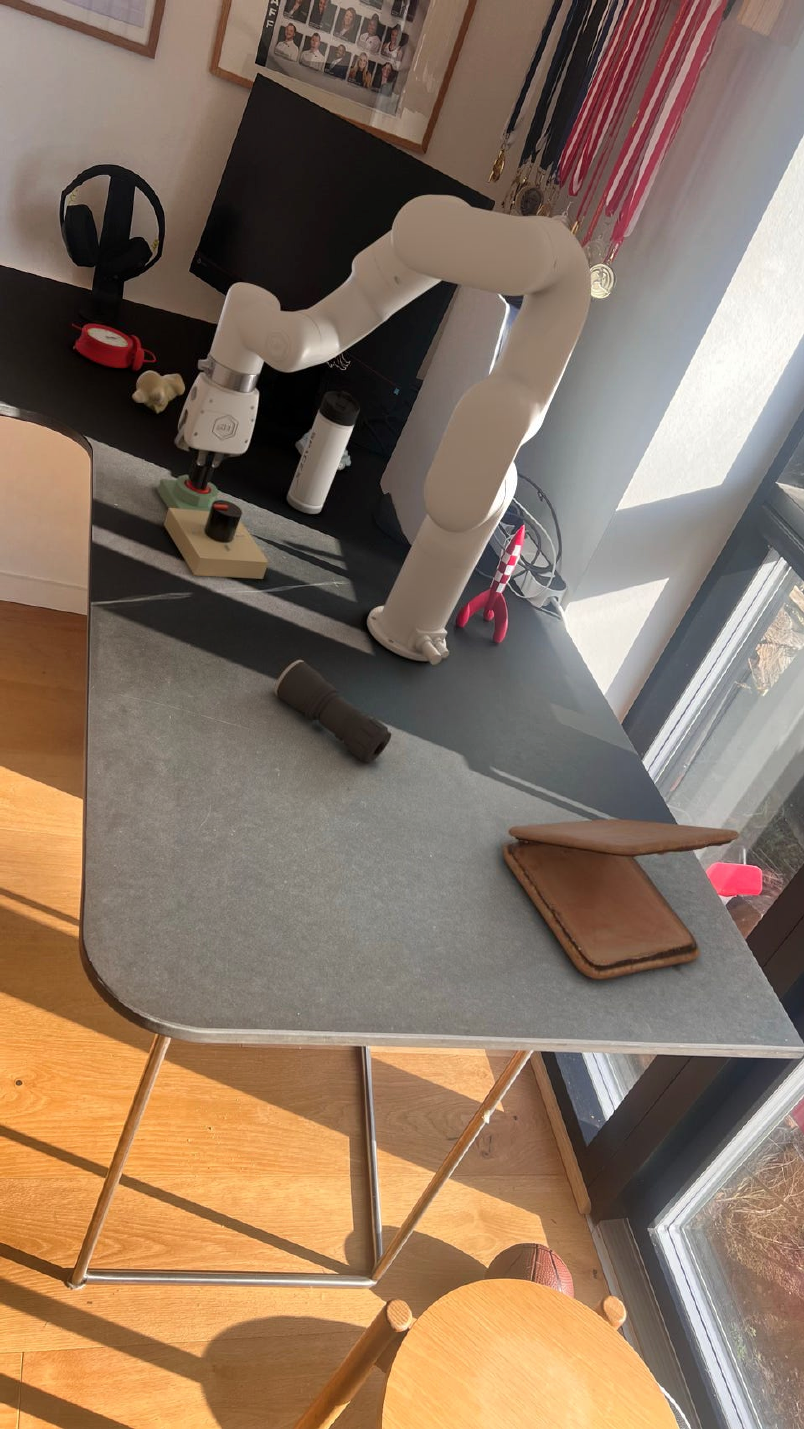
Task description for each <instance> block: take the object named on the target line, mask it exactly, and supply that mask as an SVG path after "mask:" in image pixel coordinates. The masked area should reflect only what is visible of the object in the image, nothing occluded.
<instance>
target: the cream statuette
mask: <svg viewBox="0 0 804 1429" xmlns="http://www.w3.org/2000/svg"><path fill="white" fill-rule="evenodd" d="M135 387H136V391H134V393H133V394H132V396H131V398H132V400H133V401H134V402H135V403H138V404H144V405H145V406H146V407H147V408H148V409H150V410H152V411H153V412H154V413H156V414H158V415H159V413H161V412H163V411H164V410H165V409H166V408H167V406H168V404H169V402H171V401H172V400H173V399H175V398H176V397H178V396H182V395H183V394H184V393H185V390H186V387H185V383H184V381H183V378H182V376H181V374H179V373H172V374H164V375H163V376H162V375H160V373H158V372H157V371H154V370H147V371H144V372H143V373H141V374H140V376H139V377H138V378H137V380H136V384H135Z"/></svg>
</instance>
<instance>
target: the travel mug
mask: <svg viewBox="0 0 804 1429" xmlns="http://www.w3.org/2000/svg"><path fill="white" fill-rule="evenodd" d="M360 411H361V406H360V404H359V402H358V401H357V400H356V399H355V398H353V397H352V394H350V393H348V392H346V391H344V390H341V392H340V391H336V390H329V391H327V392H325V394H324V395H323V398H322V401H321V403H320V406H319V409H318V410H317V413H316V416H315V418H314V421H313V424H312V427H311V428H310V429H311V432H310V435H309V438H308V440H307V443H306V446H305V449H304V451H303V454H302V455H301V456H300V459H299V463H298V465H297V468H296V471H295V473H294V476H293V479H292V481H291V484H290V487H289V490H288V492H287V495H286V501H287V503H288V504H289V505H290V506H291V507H292V508H294V509H295V510H297V511H299V512H301V513H304V514H308V515H316V514H317V515H318V514H319V513H320V512H322V509H323V507H324V504H325V502H326V498H327V496H328V493H329V491H330V489H331V485H332V484H333V481H334V478H335V477H336V476H335V475H336V474H337V473H336V472H337V470H338V469H337V468H338V466H339V463H340V460H341V458H342V455H343V453H344V450H345V448H346V449H347V445H348V443H349V440H350V437H351V435H352V432H353V429H354V427H355V424H356V420H357V418H358V416H359V414H360Z"/></svg>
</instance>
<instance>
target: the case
mask: <svg viewBox="0 0 804 1429" xmlns="http://www.w3.org/2000/svg"><path fill="white" fill-rule="evenodd" d="M508 835H509V836H510V837H513V838H515V839H516V840H510V841H508V842H506V843H505V844H504V845H503V847H502V856H503V859H504V860H505V862H506V863H507V865H508V866H509V868H510V870H511V871H512V872H513V874H514V876H515V877H516V879H517V880H518V882H519V883H520V884H521V885H522V887H523V889H524V890H525V892H526V893H527V895H528V896H529V898H530V899H531V901H532V902H533V904H534V905H535V907H536V909H537V910H538V911H539V913H540V914H541V916H542V917H543V919H544V920H545V922H546V923H547V925H548V926H549V928H550V929H551V931H552V932H553V934H554V935H555V937H556V938H557V940H558V942H559V943H560V945H561V947H562V948H563V949H564V951H565V952H566V954H567V956H568V957H569V959H570V960H571V962H572V963H573V965H574V966H575V968H576V969H577V970H578V971H579V972H581V973H582V974H583V975H584V976H586V977H588V978H590V979H594V980H608V979H613V978H617V977H622V976H626V975H630V974H634V973H638V972H639V973H640V972H643V971H648V970H654V969H659V968H660V969H661V968H664V967H670V966H675V965H681V964H686V963H692V962H693V961H695V960H696V959H697V958H698V957H699V956H700V948H699V944H698V942H697V940H696V939H695V937H694V936H693V934H692V933H691V931H690V930H689V929H688V928H687V926H686V925H685V924H684V923H683V921H682V920H681V918H680V917H679V916H678V914H677V913H676V912H675V910H674V909H673V908H672V907H671V905H670V904H669V902H668V901H667V900H666V898H665V897H664V895H662V893H661V892H660V890H659V888H658V887H657V886H656V885H655V883H654V882H653V880H652V879H651V878H650V876H649V875H648V874H647V872H646V871H645V870H644V869H643V868H642V866H641V864H640V863H639V862H638V860H637V859H636V857H640V856H641V857H642V856H649V855H650V856H651V855H658V856H665V855H666V854H668V853H683V852H690V851H692V852H693V851H697V850H702V849H705V848H709V847H722V846H724V845H727V844H728V845H729V844H731V843H732V842H733V841H735V840H737V839H738V838H739V837H740V833H739V832H738V831H737V830H734V829H729V828H728V829H726V828H717V827H707V826H695V825H687V824H686V825H685V824H676V823H665V822H658V821H657V822H655V821H646V820H645V821H644V820H634V819H626V818H625V819H623V818H621V819H620V818H609V819H592V820H581V821H570V822H568V821H567V822H553V823H543V824H541V823H540V824H529V825H519V826H512V827H510V828H509V829H508Z"/></svg>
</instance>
